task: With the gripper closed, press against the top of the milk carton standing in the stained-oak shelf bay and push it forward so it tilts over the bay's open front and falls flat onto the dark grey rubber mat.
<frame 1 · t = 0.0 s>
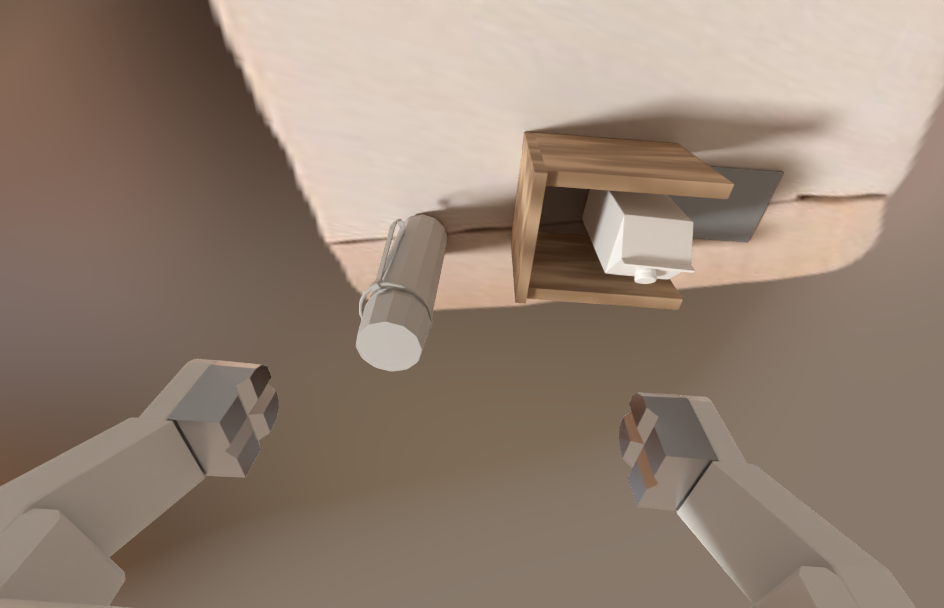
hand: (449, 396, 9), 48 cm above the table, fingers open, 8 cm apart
water bottle: (420, 229, 60), on the table
milk carton: (613, 196, 55), on the table
mat: (712, 204, 55), on the table
shelf bay: (591, 195, 55), on the table
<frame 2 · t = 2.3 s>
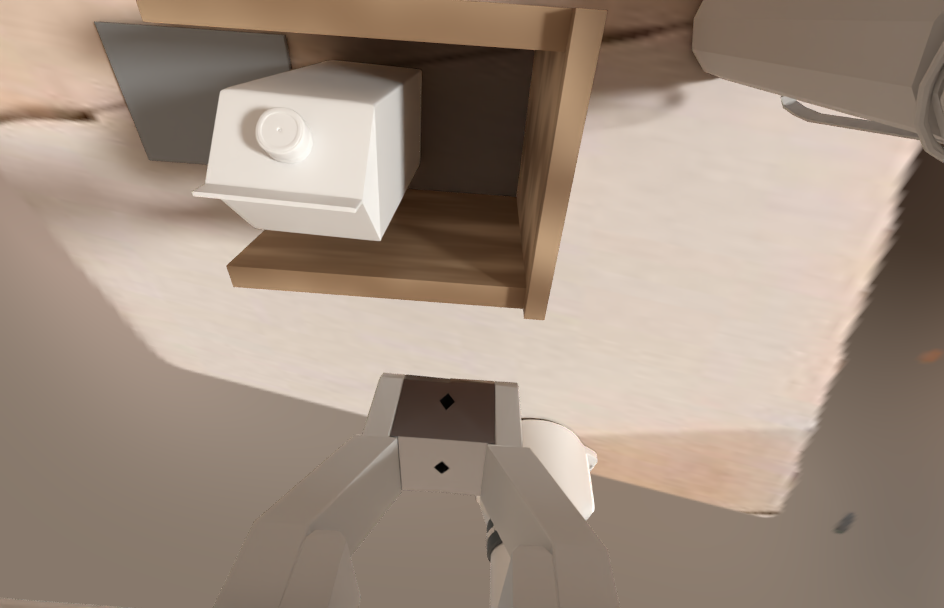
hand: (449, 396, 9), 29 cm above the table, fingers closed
water bottle: (741, 34, 29), on the table
milk carton: (378, 113, 33), on the table
mat: (212, 102, 33), on the table
shelf bay: (414, 117, 33), on the table
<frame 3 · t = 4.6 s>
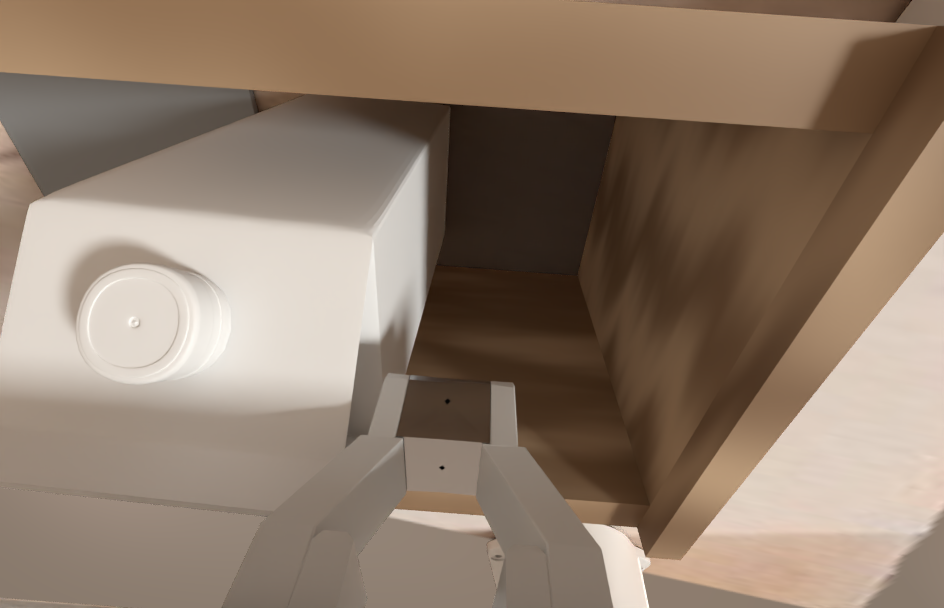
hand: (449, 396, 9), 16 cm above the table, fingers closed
milk carton: (385, 167, 23), on the table, touching gripper
mat: (144, 150, 23), on the table
shelf bay: (438, 172, 23), on the table
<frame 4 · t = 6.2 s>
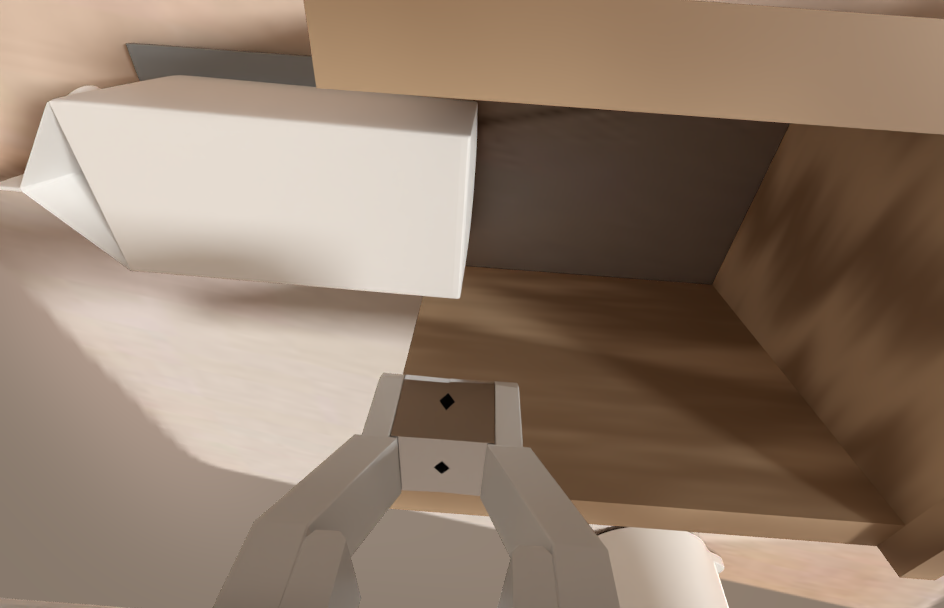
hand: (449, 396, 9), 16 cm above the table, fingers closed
milk carton: (477, 197, 19), point 4 cm above the table, touching mat
mat: (296, 159, 22), on the table
shelf bay: (593, 181, 22), on the table
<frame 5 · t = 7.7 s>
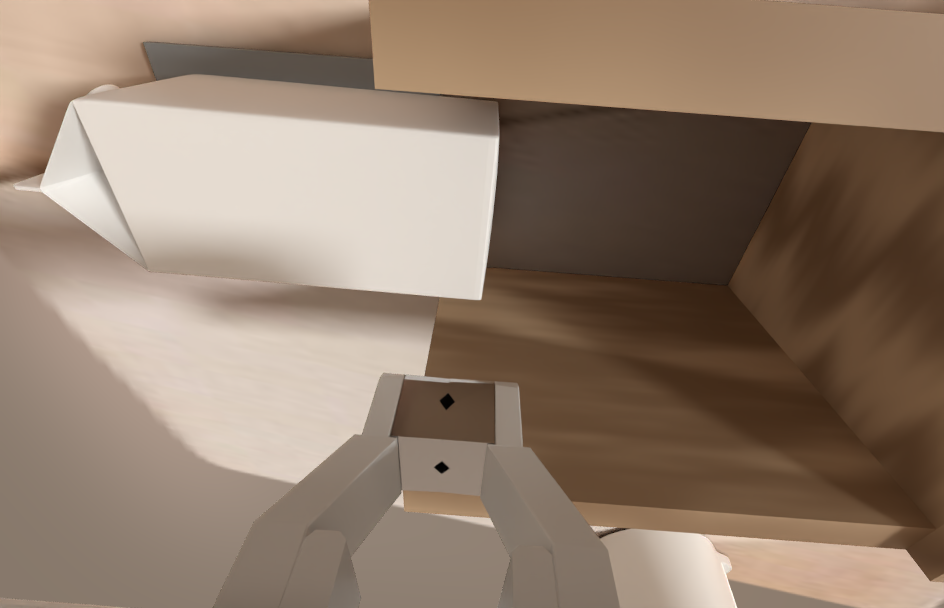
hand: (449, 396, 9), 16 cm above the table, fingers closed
milk carton: (497, 197, 19), point 4 cm above the table, touching mat
mat: (312, 159, 22), on the table
shelf bay: (611, 182, 22), on the table
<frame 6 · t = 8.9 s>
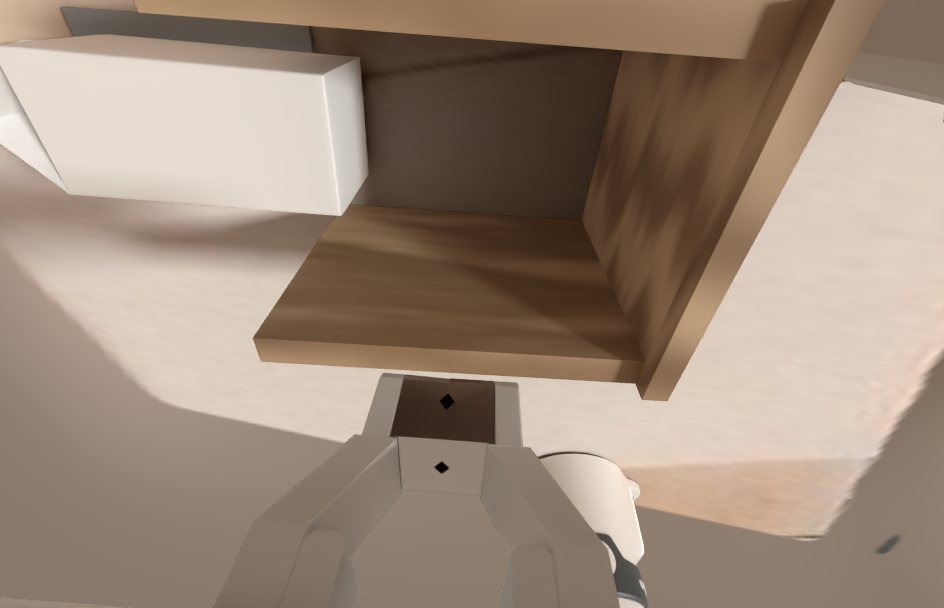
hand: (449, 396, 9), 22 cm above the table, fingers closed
water bottle: (880, 28, 23), on the table
milk carton: (357, 135, 24), point 4 cm above the table, touching mat
mat: (216, 109, 27), on the table
shelf bay: (467, 128, 27), on the table
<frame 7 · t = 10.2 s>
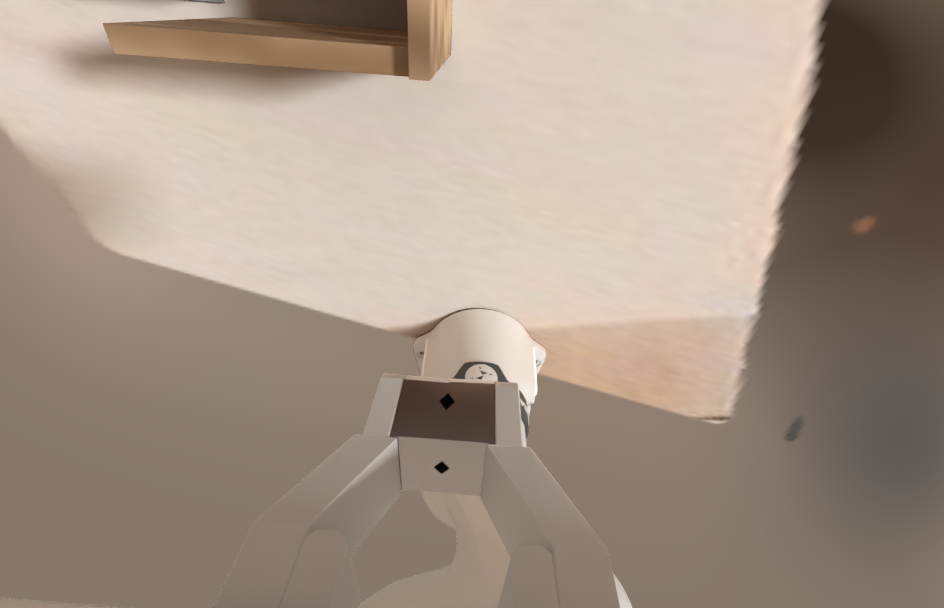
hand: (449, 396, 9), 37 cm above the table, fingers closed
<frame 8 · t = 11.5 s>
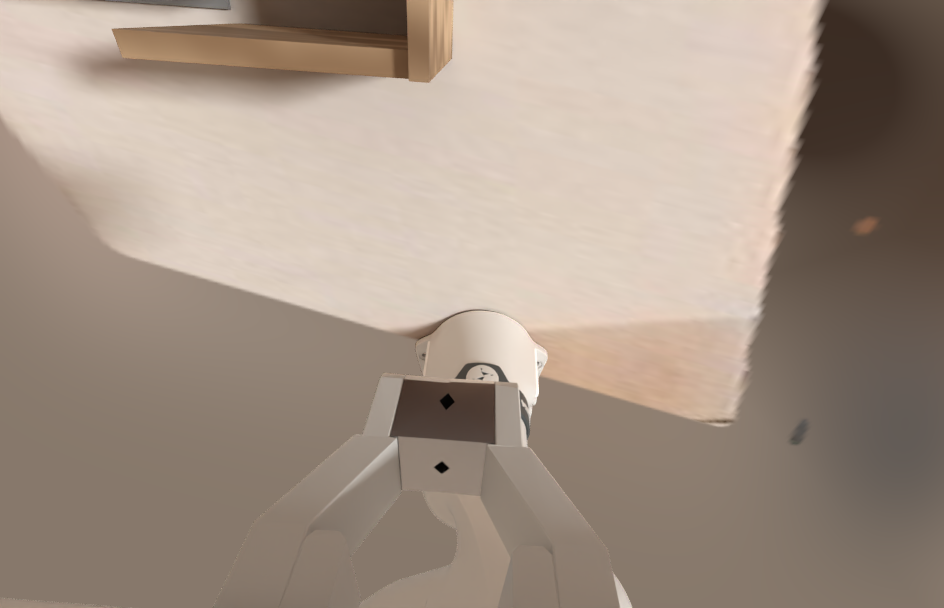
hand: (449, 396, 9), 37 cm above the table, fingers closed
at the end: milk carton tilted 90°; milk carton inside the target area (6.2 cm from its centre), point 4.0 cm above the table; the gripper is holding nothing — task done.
